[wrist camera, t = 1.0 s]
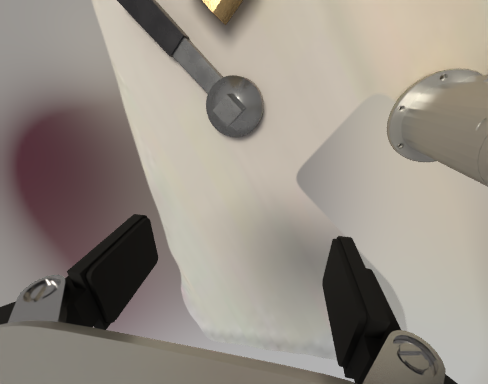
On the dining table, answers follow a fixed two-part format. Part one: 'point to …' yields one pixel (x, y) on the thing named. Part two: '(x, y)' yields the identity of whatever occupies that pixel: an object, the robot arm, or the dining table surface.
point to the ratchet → (202, 72)
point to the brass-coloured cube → (223, 8)
